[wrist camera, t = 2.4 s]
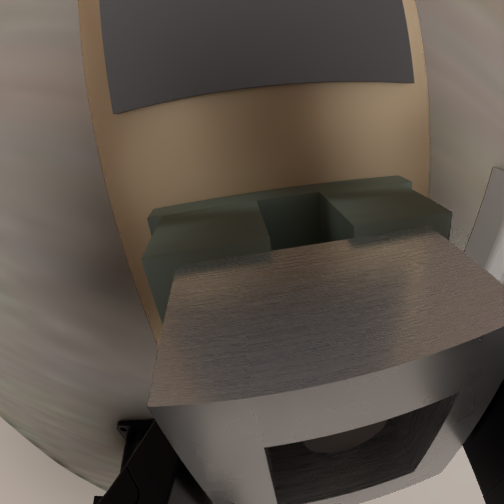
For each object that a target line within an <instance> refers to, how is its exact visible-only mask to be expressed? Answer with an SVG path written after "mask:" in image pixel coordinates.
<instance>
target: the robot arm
mask: <svg viewBox="0 0 504 504" xmlns="http://www.w3.org/2000/svg"><path fill="white" fill-rule="evenodd" d="M117 430H118V431H119V433H120V434H121V435H122V436H123V438H124V439H125V440H126V441H125V446H124V452H123V458H122V464H121V470H120V474H119V475H118V477H117V478H116V480H115V481H114V483H113V484H112V485H111V487H110V488H109V490H108V491H107V492H106V494H105V495H104V496H94V503H93V504H214V503H213V502H212V501H211V499H210V498H209V497H208V496H207V494H206V493H205V492H204V490H203V489H202V488H201V486H200V485H199V484H198V482H197V481H196V480H195V478H194V477H193V476H192V474H191V473H190V472H189V470H188V469H187V467H186V466H185V464H184V463H183V462H182V460H181V459H180V457H179V456H178V454H177V453H176V451H175V450H174V448H173V447H172V445H171V444H170V442H169V441H168V439H167V438H166V436H165V435H164V433H163V432H162V430H161V428H160V427H159V425H158V424H157V422H156V420H155V421H119V422H118V423H117ZM463 448H464V450H465V452H466V454H467V457H468V459H469V461H470V464H471V466H472V469H473V471H474V474H475V476H476V479H477V481H478V484H479V486H480V489H481V492H482V494H483V497H484V500H485V503H486V504H504V379H503V381H502V382H501V384H500V386H499V388H498V390H497V391H496V393H495V395H494V397H493V398H492V400H491V402H490V404H489V405H488V407H487V408H486V410H485V412H484V413H483V415H482V417H481V418H480V420H479V421H478V423H477V424H476V426H475V427H474V429H473V430H472V432H471V433H470V435H469V436H468V438H467V439H466V440H465V442H464V443H463Z"/></svg>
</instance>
